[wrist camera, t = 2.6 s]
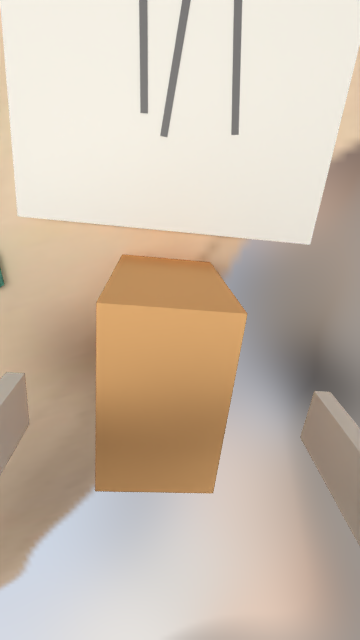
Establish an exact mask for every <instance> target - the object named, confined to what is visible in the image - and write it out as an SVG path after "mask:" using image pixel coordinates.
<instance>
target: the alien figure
mask: <svg viewBox="0 0 360 640" xmlns="http://www.w3.org/2000/svg"><path fill="white" fill-rule="evenodd" d="M3 285H4V282H3V277H2V273H1V269H0V287H1V286H3Z"/></svg>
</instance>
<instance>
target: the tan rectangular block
mask: <svg viewBox="0 0 360 640" xmlns="http://www.w3.org/2000/svg"><path fill="white" fill-rule="evenodd" d="M246 319H247V313H246V311H245V310H244V308H243V307H242V306H241V304H240V303H239V302H238V300H237V299H236V297H235V296H234V295H233V293H232V292H231V290H230V289H229V288H228V286H227V285H226V284H225V282H224V281H223V279H222V278H221V277H220V275H219V274H218V272H217V271H216V270H215V268H214V267H213V266H212V264H211V263H210V262H201V261H190V260H178V259H167V258H156V257H145V256H133V255H122V256H121V258H120V260H119V262H118V264H117V266H116V267H115V269H114V271H113V273H112V275H111V277H110V278H109V280H108V282H107V284H106V286H105V288H104V290H103V291H102V293H101V295H100V297H99V299H98V301H97V303H96V459H95V491H113V492H169V493H172V492H173V493H213V491H214V486H215V481H216V475H217V470H218V465H219V460H220V454H221V449H222V444H223V438H224V434H225V428H226V423H227V417H228V412H229V407H230V402H231V397H232V392H233V387H234V381H235V376H236V371H237V366H238V361H239V355H240V350H241V345H242V339H243V334H244V329H245V324H246Z"/></svg>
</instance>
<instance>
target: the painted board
mask: <svg viewBox="0 0 360 640" xmlns="http://www.w3.org/2000/svg"><path fill="white" fill-rule="evenodd" d="M0 6H1V18H2V30H3V43H4V55H5V67H6V79H7V91H8V104H9V116H10V128H11V140H12V153H13V165H14V177H15V189H16V201H17V214H18V216H20V217H30V218H40V219H51V220H61V221H71V222H82V223H92V224H102V225H112V226H123V227H133V228H143V229H154V230H164V231H174V232H185V233H195V234H205V235H215V236H226V237H236V238H246V239H257V240H267V241H277V242H288V243H298V244H308V245H310V243H311V239H312V234H313V231H314V227H315V223H316V219H317V214H318V211H319V206H320V203H321V199H322V194H323V191H324V186H325V182H326V178H327V174H328V170H329V166H330V162H331V158H332V154H333V150H334V146H335V142H336V138H337V134H338V130H339V126H340V122H341V118H342V114H343V110H344V106H345V102H346V98H347V94H348V90H349V86H350V82H351V78H352V74H353V69H354V65H355V61H356V57H357V53H358V49H359V45H360V0H0Z"/></svg>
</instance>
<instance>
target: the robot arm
mask: <svg viewBox="0 0 360 640" xmlns="http://www.w3.org/2000/svg"><path fill="white" fill-rule="evenodd" d="M28 426H29V414H28V404H27V393H26V382H25V373H11V372H6V373H5V374H4V376H3V377H2V378H1V379H0V475H1V473H2V471H3V469H4V468H5V466H6V464H7V462H8V461H9V459H10V457H11V455H12V454H13V452H14V450H15V448H16V447H17V445H18V443H19V441H20V440H21V438H22V436H23V434H24V433H25V431H26V429H27V427H28ZM300 437H301V439H302V442H303V443H304V445H305V447H306V449H307V450H308V452H309V454H310V456H311V458H312V460H313V461H314V463H315V465H316V467H317V469H318V471H319V473H320V474H321V476H322V478H323V480H324V482H325V484H326V485H327V487H328V489H329V491H330V493H331V494H332V496H333V498H334V500H335V502H336V504H337V505H338V507H339V509H340V511H341V513H342V515H343V516H344V518H345V520H346V522H347V524H348V526H349V527H350V529H351V531H352V533H353V535H354V537H355V538H356V540H357V542H358V544H359V546H360V428H359V427H358V426H357V424H356V423H355V422H354V421H353V420H352V419H351V417H350V416H349V415H348V414H347V412H346V411H345V410H344V409H343V407H342V406H341V405H340V404H339V403H338V401H337V400H336V399H335V397H334V396H333V395H332V394H331V393H330V392H321V391H314V394H313V397H312V401H311V404H310V407H309V410H308V414H307V417H306V420H305V423H304V427H303V430H302V433H301V436H300Z"/></svg>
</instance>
